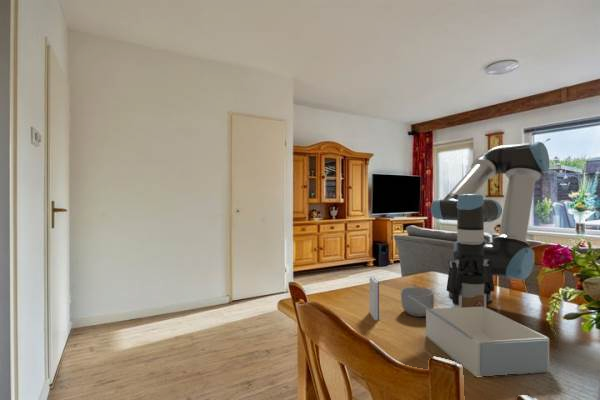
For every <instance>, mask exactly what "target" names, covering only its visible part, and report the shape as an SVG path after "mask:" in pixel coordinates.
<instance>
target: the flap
mask: <svg viewBox="0 0 600 400" xmlns="http://www.w3.org/2000/svg"><path fill="white" fill-rule="evenodd" d="M408 297H410V298H411V299H413V300H414V301H415V302H417V303H418V304H420V305H421V306H422V307H424V308H425V309H427V310H428V311H430V312H431V313H433V314H434V315H436V316H437V317H439V318H440V319H442V320H443V321H445V322H446V323H448V324H449V325H451V326H452V327H454V328H455V329H457V330H458V331H460V332H461V333H463V334H464V335H466V336H467V337H469V338H470V339H473V338H472V337H470V336H469V335H468V334H466V333H465V332H463V331H462V330H461V329H459V328H458V327H456V326H455V325H454V324H452V323H451V322H449V321H448V320H446V319H445V318H443V317H442V316H440V315H439V314H437V313H436V312H434V311H433V310H431V309H429V308H428V307H426V306H425V305H423V304H422V303H420V302H419V301H417V300H416V299H414V298H413V297H411V296H409V295H408Z"/></svg>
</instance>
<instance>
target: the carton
mask: <svg viewBox="0 0 600 400" xmlns="http://www.w3.org/2000/svg"><path fill="white" fill-rule="evenodd" d="M431 310H433V311H434V312H436V313H437V314H439V315H440V316H442V317H443V318H445V319H446V320H448V321H449V322H451V323H452V324H454V325H455V326H456V327H458V328H459V329H461V330H462V331H463V332H465V333H466V334H468V335H469V336H470V337H472V338H473V339H470V338H469V337H467V336H466V335H464V334H463V333H461V332H460V331H458V330H457V329H455V328H454V327H452V326H451V325H449V324H448V323H446V322H445V321H443V320H442V319H440V318H439V317H437V316H436V315H434V314H433V313H431V312H430V311H428V310H427V309H426V316H425V337H426V338H427V339H428V340H430V342H431V343H433V344H434V345H435V346H437V347H438V348H439V349H440V350H442V351H443V352H444V353H445V354H446V355H448V356H449V357H450V358H451V359H452V360H453V361H454V362H456V363H457V362H458V363H457V364H459V363H460V364H462V366H463V367H462V366H461V367H462V368H463V369H465V370H466V369H467V370H468V371H470V372H471V373H472V374H474V375H475V376H492V375H505V376H508V375H507V374H517V375H526V373H527V374H528V373H530V374H538V373H540V374H541V373H549V372H550V338H549V337H548V336H547V335H544V334H543V333H540V332H539V331H536V330H534V329H532V328H530V327H528V326H525V325H524V324H521V323H520V322H517V321H515V320H514V319H511V318H509V317H508V316H505V315H503V314H501V313H499V312H497V311H495V310H492V309H491V308H487V306H486V307H461V308H455V307H446V308H440V307H439V308H433V309H431ZM460 364H459V365H460ZM467 370H466V371H467ZM468 371H467V372H468ZM470 372H469V373H470ZM471 373H470V374H471ZM472 374H471V375H472ZM528 375H529V374H528Z"/></svg>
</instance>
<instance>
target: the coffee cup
mask: <svg viewBox="0 0 600 400" xmlns="http://www.w3.org/2000/svg"><path fill="white" fill-rule="evenodd" d="M463 272H464V271H463ZM457 275H458V276H459V277H461V276H463V277H462V279H461V278H459V277H457V276H456V278H458V279H461V280H462V281H461V283H462V289H461V292H460V295H462V307H483V302H484V283H485V278H484V277H483V274H481V275H477V274H474V273H473V272H469V273H468V275H467V276H466V275H461V274H457Z"/></svg>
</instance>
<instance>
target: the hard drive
mask: <svg viewBox="0 0 600 400" xmlns="http://www.w3.org/2000/svg"><path fill="white" fill-rule="evenodd" d="M369 313H370V315H371V317H372V318H373V320H374V321H380V282H379V280H377V279H376V278H375V276H369Z"/></svg>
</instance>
